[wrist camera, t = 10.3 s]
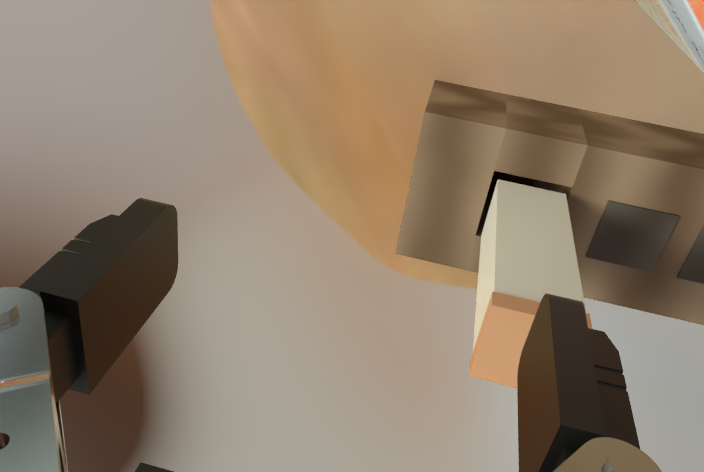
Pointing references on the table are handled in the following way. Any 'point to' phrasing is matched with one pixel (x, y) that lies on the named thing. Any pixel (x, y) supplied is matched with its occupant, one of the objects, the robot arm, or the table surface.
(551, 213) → the plug
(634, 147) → the socket block
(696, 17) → the cracker box
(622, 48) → the table surface
